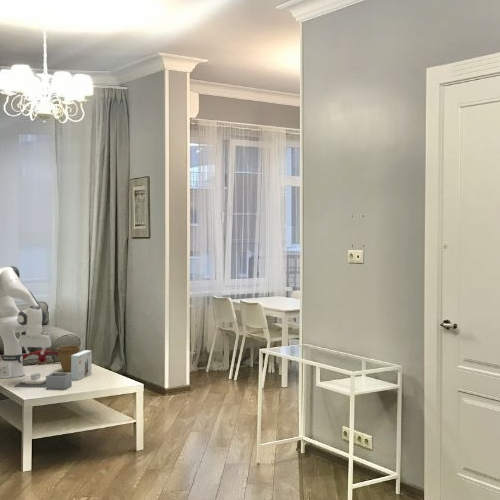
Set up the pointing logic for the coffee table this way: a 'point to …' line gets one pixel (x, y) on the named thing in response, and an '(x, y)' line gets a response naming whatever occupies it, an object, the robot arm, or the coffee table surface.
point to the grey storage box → (58, 381)
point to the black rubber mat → (30, 385)
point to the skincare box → (81, 364)
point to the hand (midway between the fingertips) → (35, 354)
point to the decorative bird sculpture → (41, 357)
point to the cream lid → (35, 379)
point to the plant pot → (67, 356)
